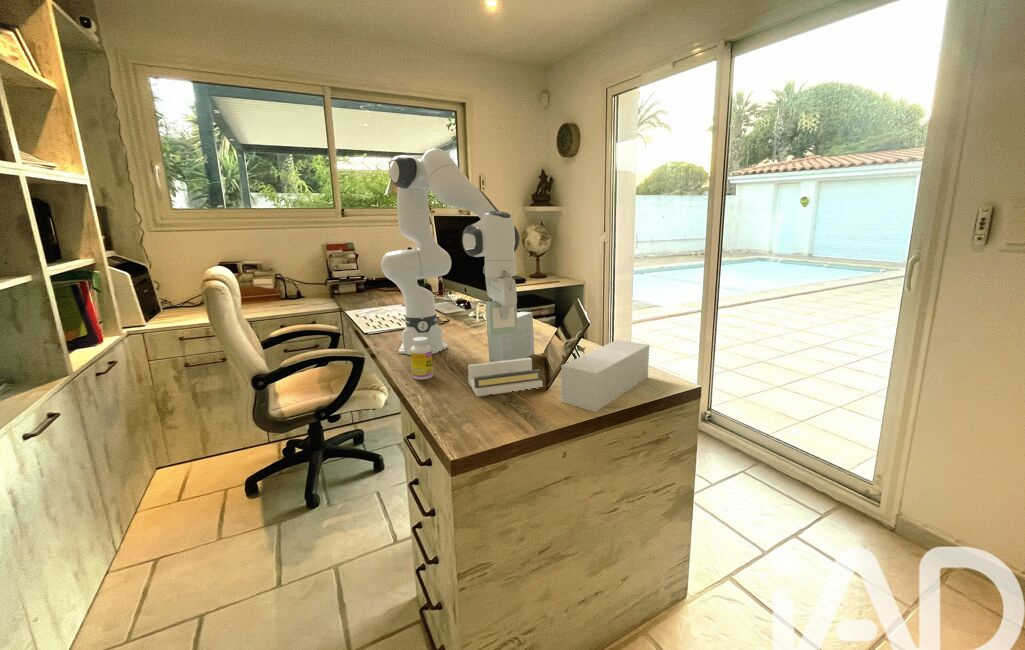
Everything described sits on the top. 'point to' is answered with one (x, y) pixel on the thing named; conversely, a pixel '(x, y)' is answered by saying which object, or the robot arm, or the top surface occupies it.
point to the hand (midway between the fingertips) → (501, 317)
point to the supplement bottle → (421, 359)
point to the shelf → (503, 376)
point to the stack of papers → (604, 374)
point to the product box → (500, 319)
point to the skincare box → (513, 341)
